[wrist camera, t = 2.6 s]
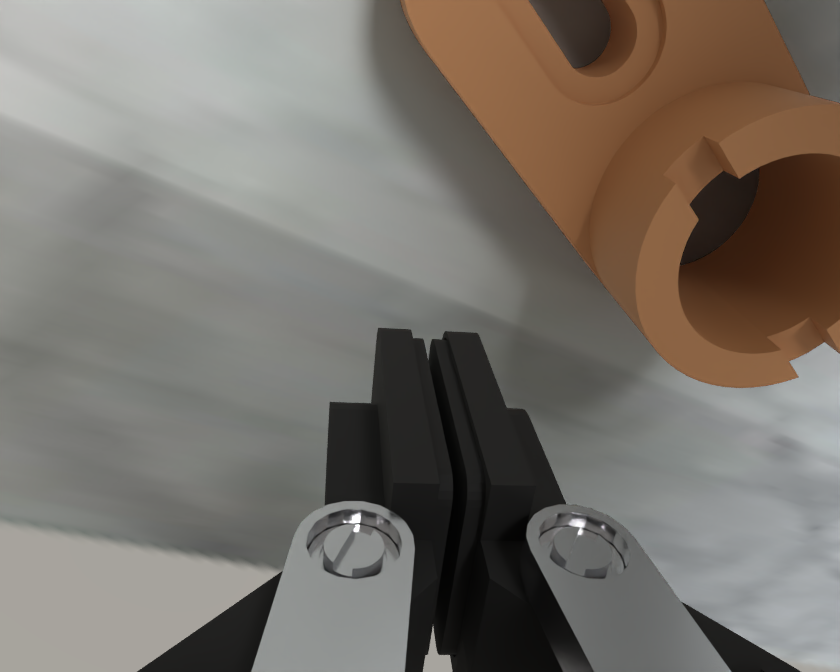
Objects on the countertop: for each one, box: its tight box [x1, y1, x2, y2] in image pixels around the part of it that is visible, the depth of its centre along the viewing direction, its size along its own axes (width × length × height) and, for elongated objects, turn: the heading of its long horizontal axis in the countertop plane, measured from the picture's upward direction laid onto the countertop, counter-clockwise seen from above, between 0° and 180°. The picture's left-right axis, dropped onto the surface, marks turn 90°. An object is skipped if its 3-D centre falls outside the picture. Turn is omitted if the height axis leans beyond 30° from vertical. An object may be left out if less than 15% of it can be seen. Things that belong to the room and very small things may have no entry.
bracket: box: [400, 0, 840, 388], centre depth 19 cm, size 18×8×7 cm, turn 39°
